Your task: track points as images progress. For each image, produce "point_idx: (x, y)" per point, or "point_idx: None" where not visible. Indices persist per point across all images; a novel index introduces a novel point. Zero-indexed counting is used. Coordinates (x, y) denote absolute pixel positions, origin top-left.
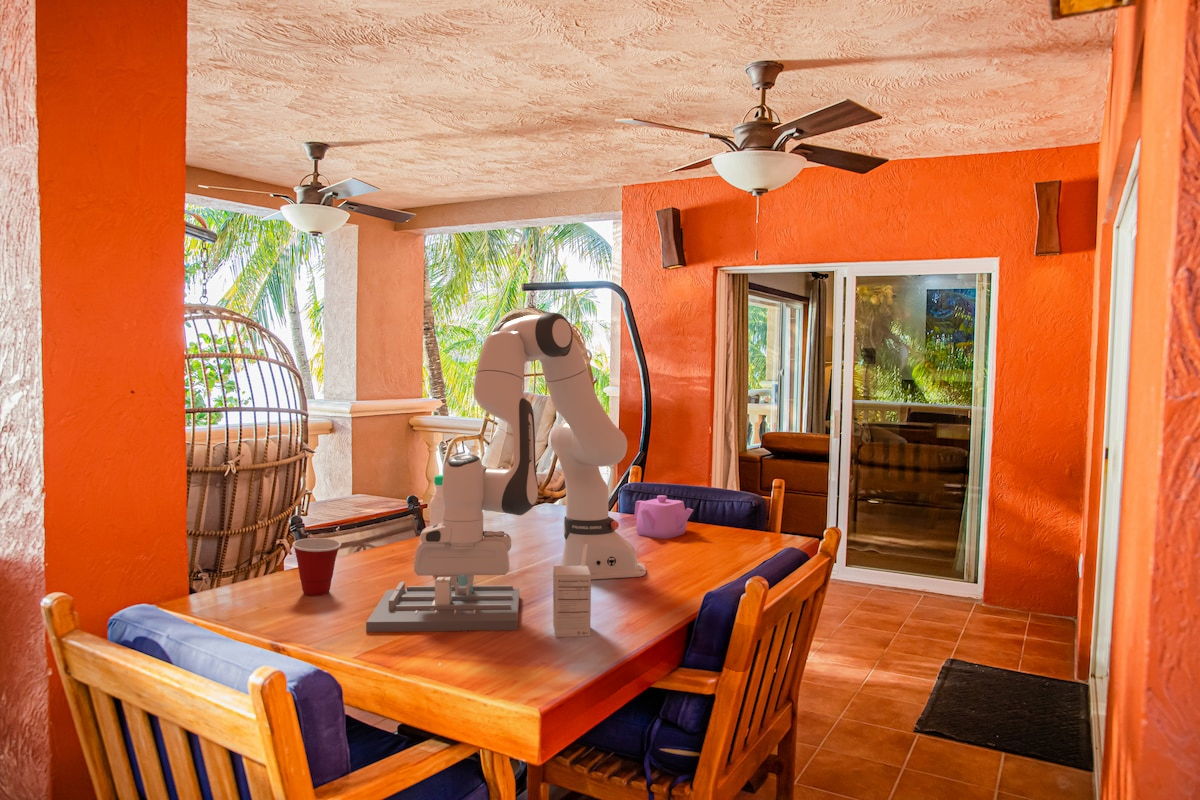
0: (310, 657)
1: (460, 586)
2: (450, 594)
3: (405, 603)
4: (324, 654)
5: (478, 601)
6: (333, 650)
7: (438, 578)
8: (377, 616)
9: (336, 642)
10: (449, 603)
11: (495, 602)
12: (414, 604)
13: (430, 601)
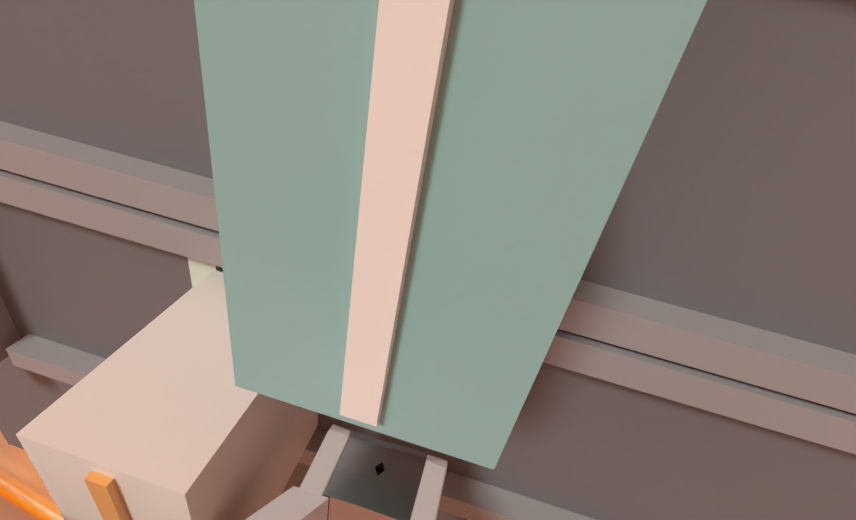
0: (21, 505)
1: (344, 516)
2: (290, 414)
3: (22, 249)
4: (41, 504)
5: (549, 384)
6: (46, 493)
7: (58, 487)
8: (9, 405)
9: (15, 450)
10: (313, 421)
11: (683, 451)
12: (90, 291)
13: (172, 260)
